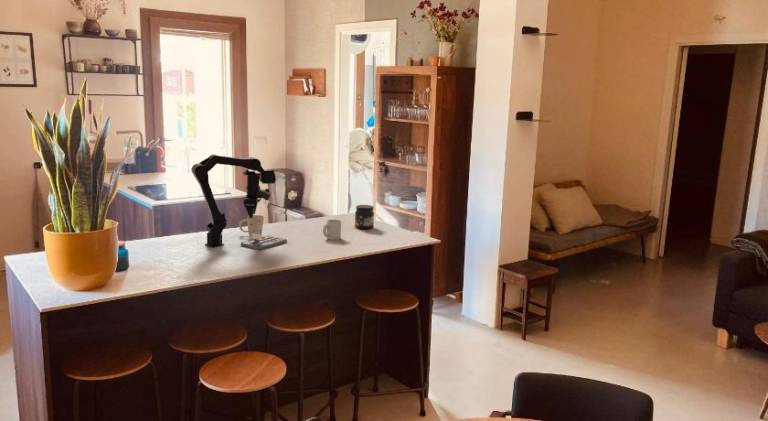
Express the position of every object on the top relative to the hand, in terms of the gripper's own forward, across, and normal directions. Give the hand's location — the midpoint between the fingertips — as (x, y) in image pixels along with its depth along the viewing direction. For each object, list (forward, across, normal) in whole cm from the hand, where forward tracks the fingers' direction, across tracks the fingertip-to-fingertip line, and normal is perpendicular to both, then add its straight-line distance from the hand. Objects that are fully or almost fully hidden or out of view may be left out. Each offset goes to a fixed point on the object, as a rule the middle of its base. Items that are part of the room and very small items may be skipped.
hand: (252, 216), depth 291 cm
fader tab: (+11, -7, -3) cm, 14 cm away
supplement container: (+12, +36, -56) cm, 67 cm away
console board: (+13, -3, -6) cm, 15 cm away
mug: (+13, +12, +2) cm, 17 cm away
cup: (+12, +10, -38) cm, 41 cm away
